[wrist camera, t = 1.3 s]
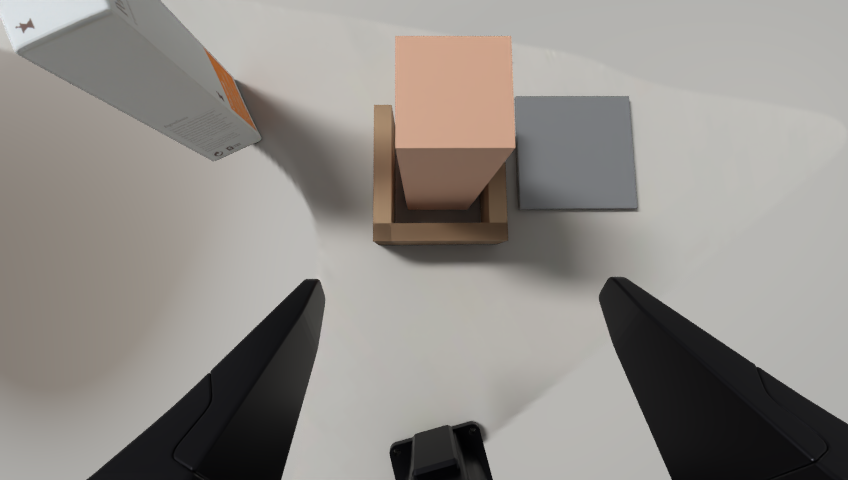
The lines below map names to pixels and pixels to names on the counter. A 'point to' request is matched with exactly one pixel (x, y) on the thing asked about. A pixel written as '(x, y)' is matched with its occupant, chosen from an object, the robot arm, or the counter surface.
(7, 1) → the skincare box
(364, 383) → the counter surface
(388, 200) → the u-shaped frame
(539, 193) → the mat
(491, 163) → the block
